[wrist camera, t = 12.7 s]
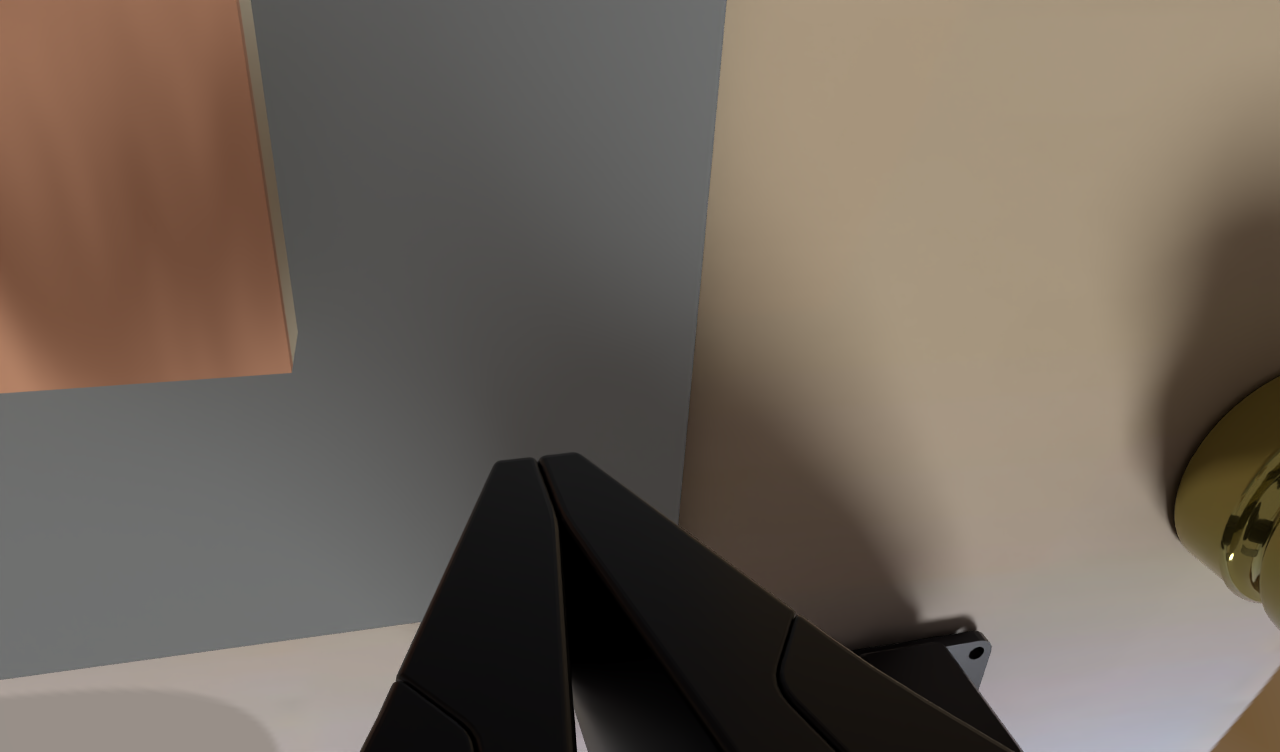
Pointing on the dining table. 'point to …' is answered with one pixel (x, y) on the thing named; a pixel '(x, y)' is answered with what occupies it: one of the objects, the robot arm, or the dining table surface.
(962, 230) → the dining table surface
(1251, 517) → the olive tall rounded piece
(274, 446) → the mat
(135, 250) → the tile
